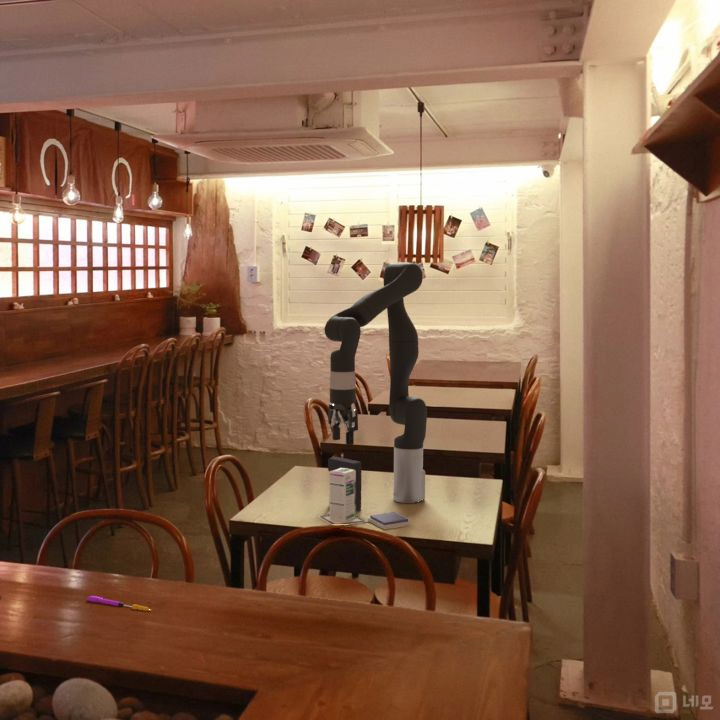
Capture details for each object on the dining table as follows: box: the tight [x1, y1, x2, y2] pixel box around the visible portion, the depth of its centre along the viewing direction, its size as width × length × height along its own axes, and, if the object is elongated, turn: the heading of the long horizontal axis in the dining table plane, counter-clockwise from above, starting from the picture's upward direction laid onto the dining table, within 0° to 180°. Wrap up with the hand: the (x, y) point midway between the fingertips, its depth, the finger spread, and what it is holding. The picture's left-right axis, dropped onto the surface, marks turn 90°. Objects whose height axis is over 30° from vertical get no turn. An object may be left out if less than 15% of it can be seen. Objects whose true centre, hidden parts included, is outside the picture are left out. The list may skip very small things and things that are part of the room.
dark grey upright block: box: [327, 456, 362, 512], centre depth 241 cm, size 11×4×15 cm, turn 47°
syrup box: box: [328, 468, 357, 522], centre depth 229 cm, size 6×6×14 cm
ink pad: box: [367, 511, 412, 530], centre depth 226 cm, size 9×9×2 cm
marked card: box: [318, 514, 368, 525], centre depth 229 cm, size 11×11×1 cm
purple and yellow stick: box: [86, 595, 153, 612], centre depth 167 cm, size 3×1×16 cm
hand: (342, 442), depth 227 cm, fingers open, 8 cm apart
